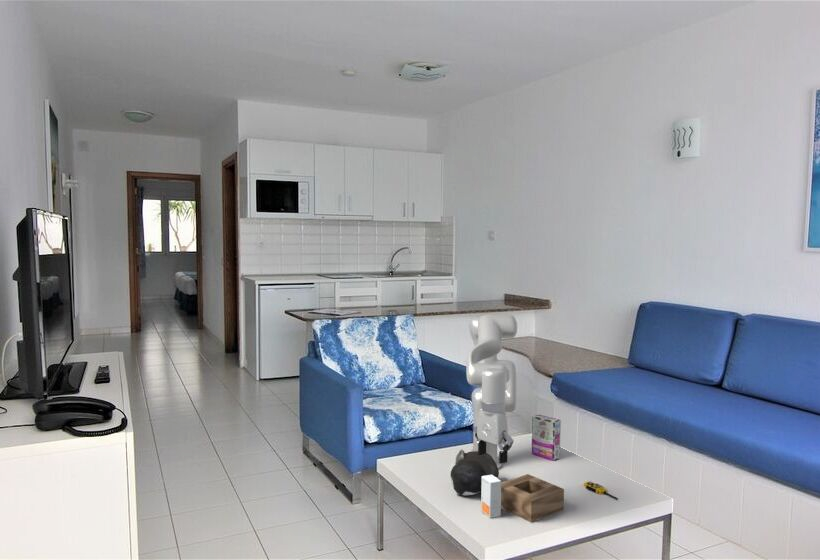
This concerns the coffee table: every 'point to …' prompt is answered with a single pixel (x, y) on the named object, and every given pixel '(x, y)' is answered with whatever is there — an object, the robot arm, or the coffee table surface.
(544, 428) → the candy bar box
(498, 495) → the skincare box
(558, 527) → the coffee table surface
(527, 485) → the socket block
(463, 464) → the dark grey rounded piece
